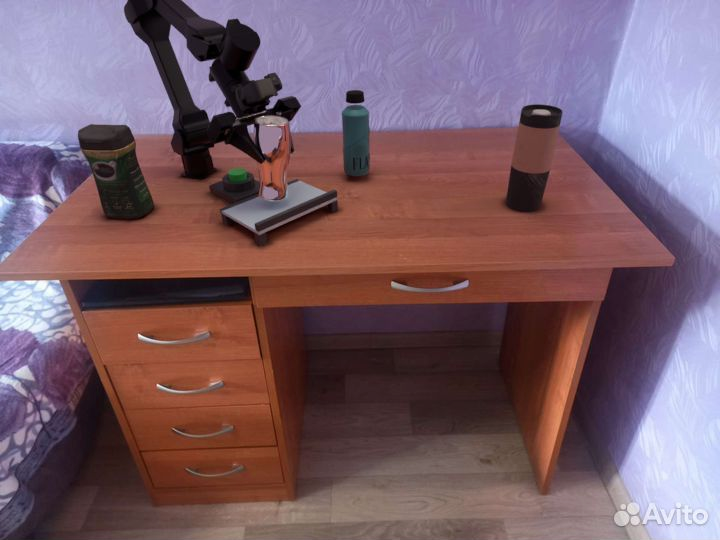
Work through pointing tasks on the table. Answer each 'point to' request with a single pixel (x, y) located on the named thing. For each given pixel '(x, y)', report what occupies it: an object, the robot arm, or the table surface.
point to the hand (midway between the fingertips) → (277, 157)
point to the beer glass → (273, 156)
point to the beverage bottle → (355, 135)
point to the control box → (235, 189)
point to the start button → (237, 175)
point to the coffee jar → (116, 170)
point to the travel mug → (532, 156)
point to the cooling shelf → (278, 209)
